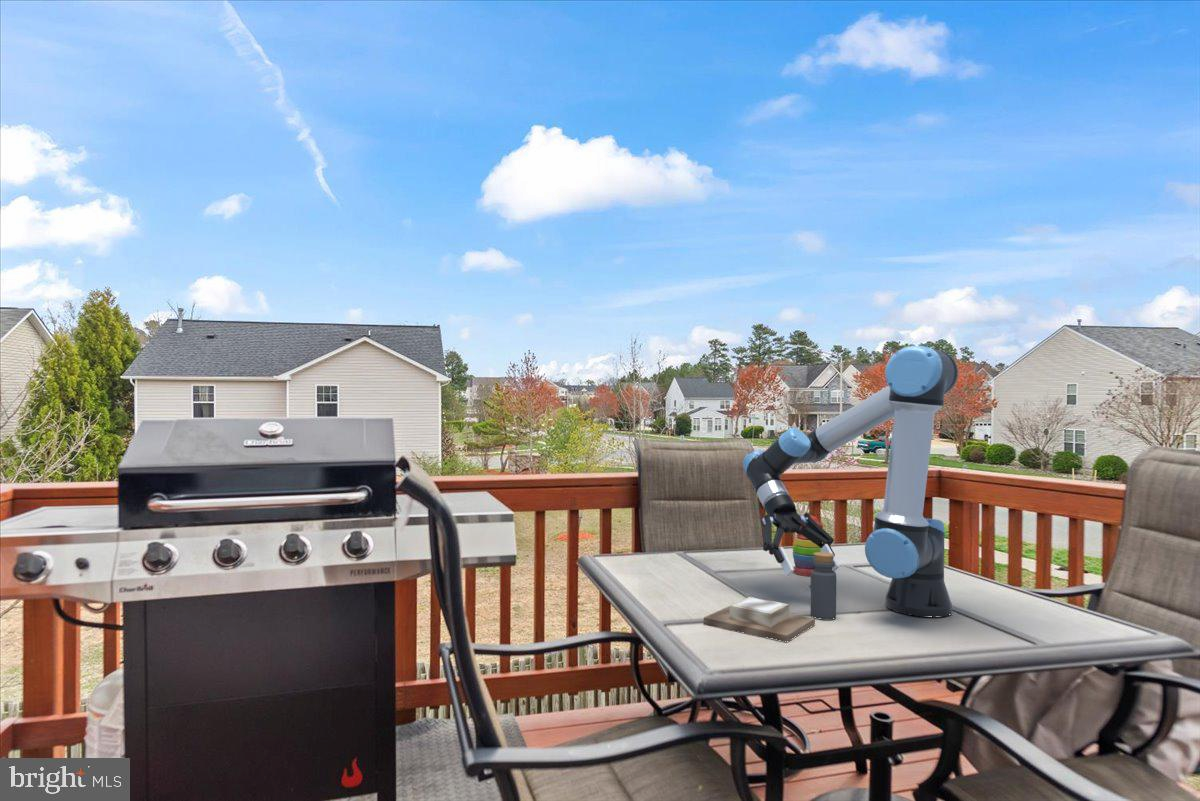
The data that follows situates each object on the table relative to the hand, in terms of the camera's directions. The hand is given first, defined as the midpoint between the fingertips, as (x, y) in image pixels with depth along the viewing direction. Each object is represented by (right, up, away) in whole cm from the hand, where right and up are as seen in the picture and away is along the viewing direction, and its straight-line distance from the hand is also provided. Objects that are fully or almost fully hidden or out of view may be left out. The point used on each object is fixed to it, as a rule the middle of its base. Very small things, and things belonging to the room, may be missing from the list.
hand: (813, 571), depth 170 cm
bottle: (+1, -10, -3) cm, 11 cm away
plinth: (-15, -10, -10) cm, 21 cm away
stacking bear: (+12, -11, +44) cm, 47 cm away
